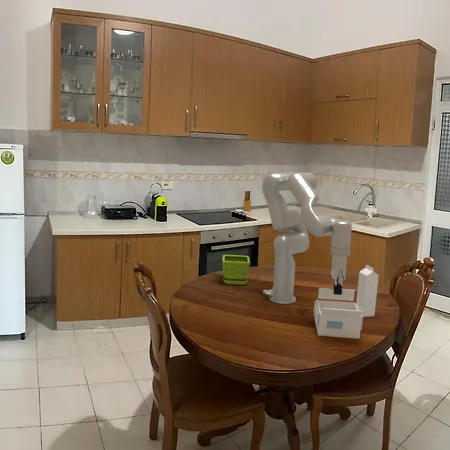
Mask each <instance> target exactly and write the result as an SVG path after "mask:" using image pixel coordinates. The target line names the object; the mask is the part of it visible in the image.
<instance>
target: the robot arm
mask: <svg viewBox="0 0 450 450" xmlns="http://www.w3.org/2000/svg"><path fill="white" fill-rule="evenodd" d="M261 185H262V186H261V189H262V194H263V197H264V199H265V202H266V204H267V209H268V213H269V218H270V220H271V221H270V222H271V225H272V228H273V230H274V231H275V232H280V233H281V232H288V233H282V234H280V235H277V236H276V237H275V238H274V241H273V251H274V252H273V253H274V267H273V268H274V269H273V284H272V288H271V289H263V291H262V294H264V295H265V296H268V299H269V300H270V301H271V302H273V303H274V304H281V305H291V304H294V303H296V301H297V298H296V296H295V295H294V285H295V273H296V272H295V270H296V261H295V259H294V257H293V255H294V254H300V253H304V252H306V251H307V250H308V249H309V247H310V238H309V233H310V235H312V236H314V237H318V238H319V237H325V236H331V242H330V243H331V245H330V255H332V259H331V270H330V275H331V278H332V280H334V281H333V282H334V284H333V288H334V294H335V295H342V289H343V281H344V280H346V275H347V274H346V273H347V260H348V258H347V257H348V256H350V255H351V241H352V222H351V221H349V220H346V219H340V218H337V217H335V216H328V217H327V216H326V217H318V216H317V215H316V213H315V212H314V210H313V207H314V206H316V204H318V202H319V194H318V193H317V192H316V191H315V190H316V188H317V187H318V179H317V177H316V175H315V174H314V173H312V172H308V171H306V172H303V171H299V172H297V171H285V172H284V171H282V172H281V171H279V172H272V173H269V174H267V175H266V176H265V177H264V178H263V180H262V184H261ZM280 191H290V192H291V194H292V195H293V196H294V198H295V199H296V201H297V202H298V204H299V205H300V207H301V210H300V211H299V210H296V209H291V210H289V209H288V206H287V202H286V199H285V198H284V197H283V195H282V194H281V193H280ZM289 231H290V233H289Z"/></svg>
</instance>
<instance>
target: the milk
mask: <svg viewBox="0 0 450 450" xmlns="http://www.w3.org/2000/svg"><path fill="white" fill-rule="evenodd" d="M358 274H359V275H358V280H357V281H358V282H357V283H358V284H357V294H356V301H355V304H357V305H358V308H359V310H360V311H363V313H362V316H363V318H368V317H369V318H370V317H375V314H376V313H375V312H376V303H377V296H378V295H377V294H378V285H379V276H380V275H379V274H378V273H376V272H375V271H374V267H372V266H370V265H368V264H365V268H363V269H361V270H360V271H359V273H358Z"/></svg>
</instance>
